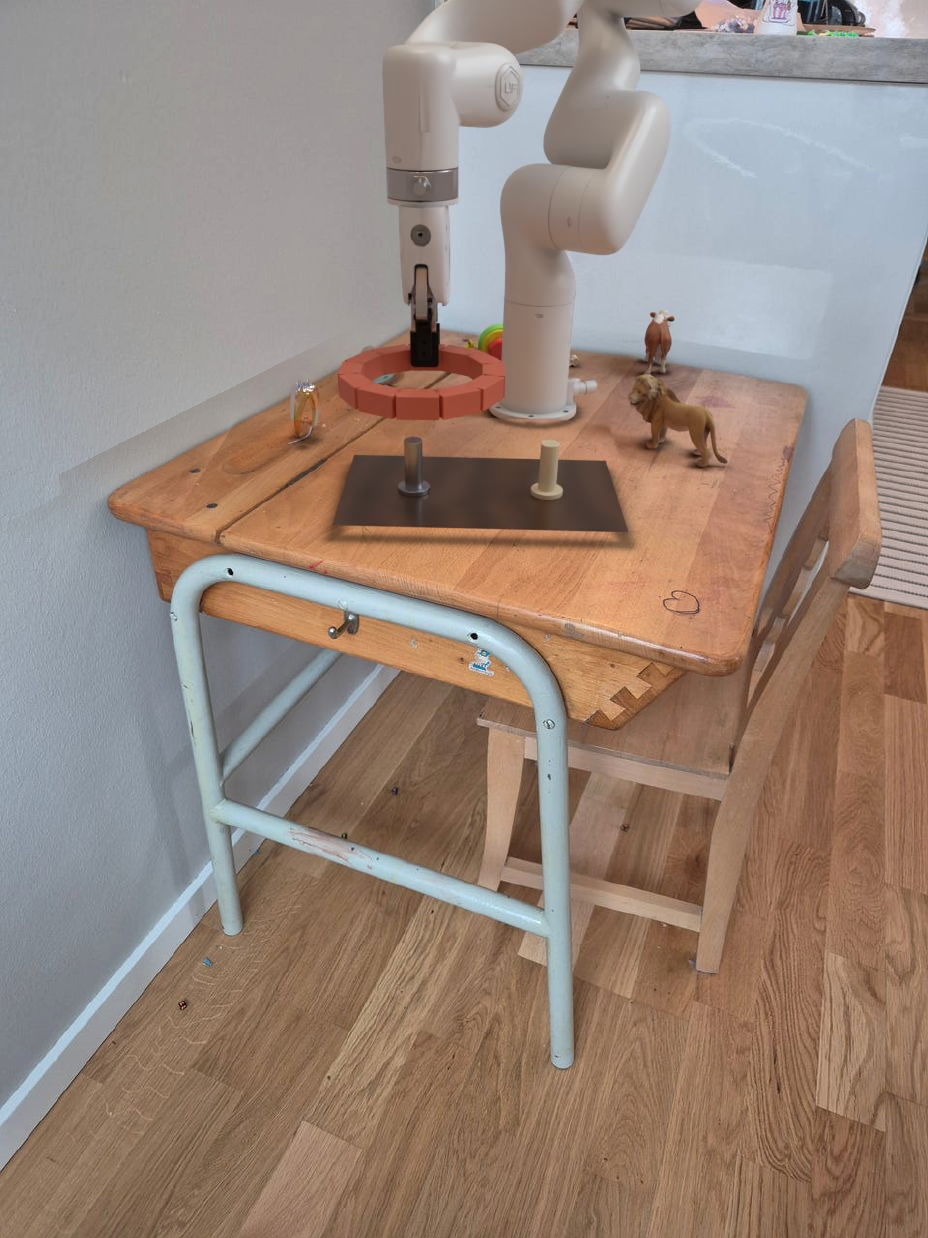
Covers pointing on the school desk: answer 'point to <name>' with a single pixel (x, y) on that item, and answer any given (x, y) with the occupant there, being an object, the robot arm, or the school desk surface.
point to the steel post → (413, 469)
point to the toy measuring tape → (499, 343)
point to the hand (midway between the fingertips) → (425, 360)
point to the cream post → (548, 472)
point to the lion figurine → (673, 416)
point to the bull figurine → (658, 339)
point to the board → (480, 495)
